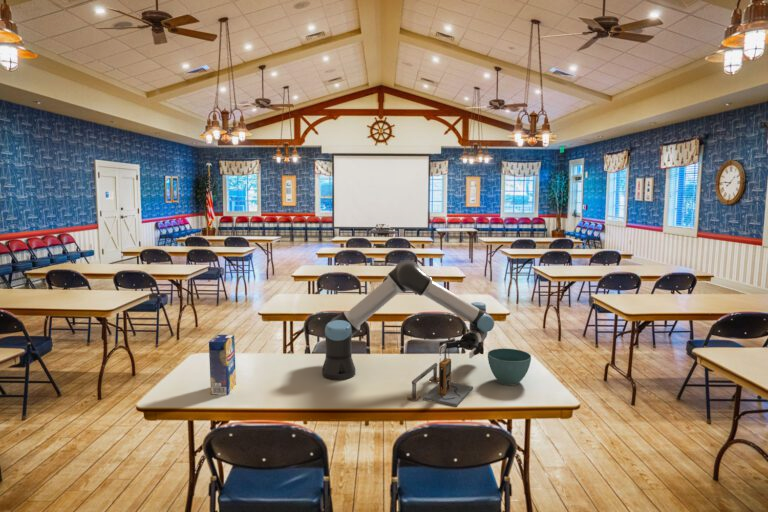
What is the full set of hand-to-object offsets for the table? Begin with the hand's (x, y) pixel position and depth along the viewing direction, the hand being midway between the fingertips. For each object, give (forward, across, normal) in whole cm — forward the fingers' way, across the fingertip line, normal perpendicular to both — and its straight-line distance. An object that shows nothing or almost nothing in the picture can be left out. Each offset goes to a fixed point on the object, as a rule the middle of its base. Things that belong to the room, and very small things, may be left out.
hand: (454, 352), depth 211 cm
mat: (+12, -2, -14) cm, 18 cm away
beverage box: (+52, +82, -14) cm, 98 cm away
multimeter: (+13, -4, -13) cm, 19 cm away
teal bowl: (-13, -20, -14) cm, 28 cm away
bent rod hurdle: (+12, +8, -14) cm, 20 cm away
